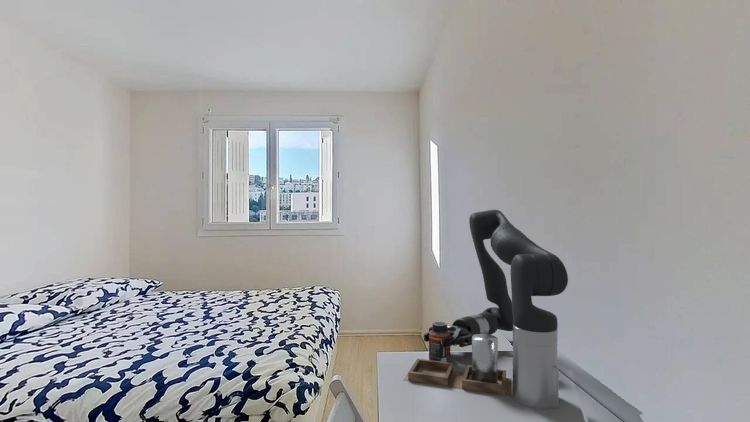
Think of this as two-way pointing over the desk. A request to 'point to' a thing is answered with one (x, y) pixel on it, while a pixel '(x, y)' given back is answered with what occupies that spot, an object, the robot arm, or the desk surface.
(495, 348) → the seated can
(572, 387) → the desk surface
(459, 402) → the desk surface
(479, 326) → the robot arm
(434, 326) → the supplement bottle
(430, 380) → the wooden double tray
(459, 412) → the desk surface
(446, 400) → the desk surface
